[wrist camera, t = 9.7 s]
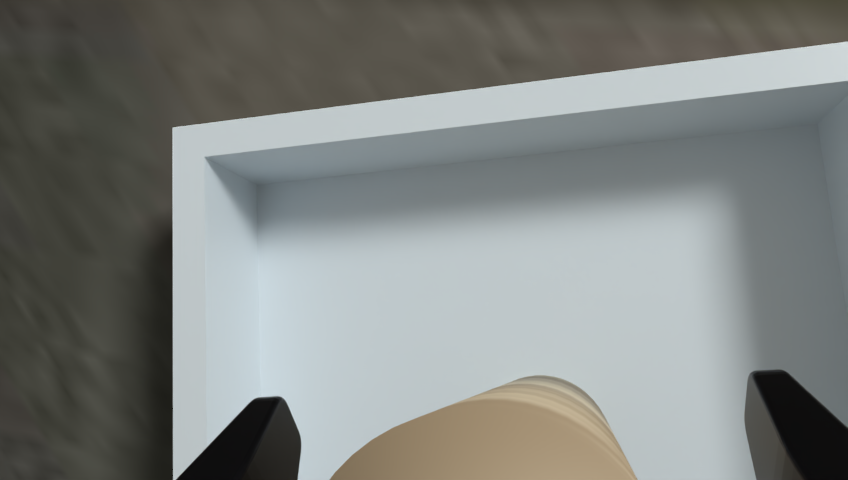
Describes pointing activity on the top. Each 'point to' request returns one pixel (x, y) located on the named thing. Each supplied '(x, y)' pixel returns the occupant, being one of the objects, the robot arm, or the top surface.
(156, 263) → the top surface
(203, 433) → the tray
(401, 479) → the dowel
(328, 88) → the top surface
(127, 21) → the top surface
